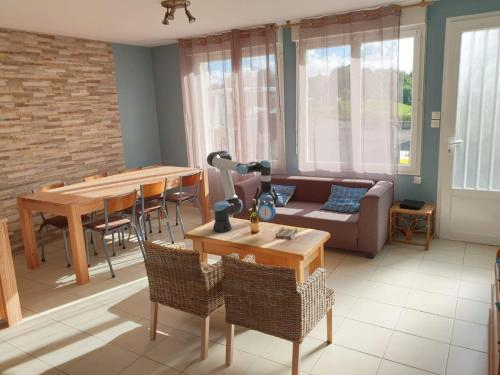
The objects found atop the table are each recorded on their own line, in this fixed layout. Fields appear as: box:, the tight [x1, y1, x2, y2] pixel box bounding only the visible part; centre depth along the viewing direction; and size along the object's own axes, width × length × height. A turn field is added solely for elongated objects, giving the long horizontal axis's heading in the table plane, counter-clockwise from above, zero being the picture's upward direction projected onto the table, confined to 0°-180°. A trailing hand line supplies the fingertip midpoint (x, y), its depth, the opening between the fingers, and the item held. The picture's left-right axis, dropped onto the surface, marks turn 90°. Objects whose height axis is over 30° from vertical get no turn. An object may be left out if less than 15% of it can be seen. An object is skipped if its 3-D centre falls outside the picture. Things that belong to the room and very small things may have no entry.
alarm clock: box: [257, 200, 277, 222], centre depth 315 cm, size 13×6×15 cm, turn 63°
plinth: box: [275, 226, 298, 240], centre depth 315 cm, size 12×18×4 cm
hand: (266, 207), depth 315 cm, fingers closed on alarm clock, 12 cm apart
